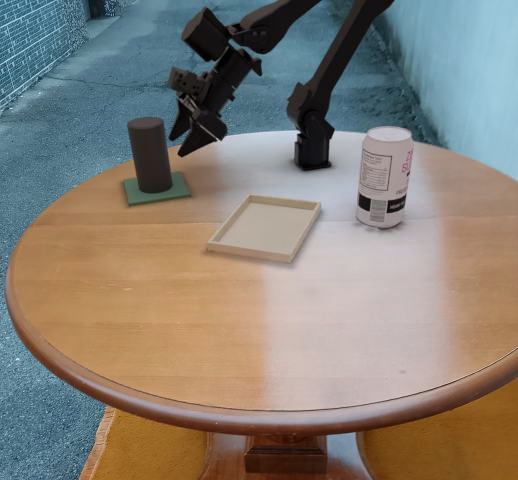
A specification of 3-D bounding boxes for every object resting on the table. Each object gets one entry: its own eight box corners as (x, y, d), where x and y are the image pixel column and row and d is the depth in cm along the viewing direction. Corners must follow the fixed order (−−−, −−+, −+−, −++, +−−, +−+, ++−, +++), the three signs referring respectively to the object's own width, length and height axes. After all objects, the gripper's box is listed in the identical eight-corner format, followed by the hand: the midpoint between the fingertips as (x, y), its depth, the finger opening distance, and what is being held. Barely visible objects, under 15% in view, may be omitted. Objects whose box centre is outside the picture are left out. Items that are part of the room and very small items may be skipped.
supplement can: (351, 210, 98) (357, 126, 88) (395, 207, 99) (407, 123, 89) (361, 231, 92) (369, 144, 82) (408, 228, 92) (422, 140, 83)
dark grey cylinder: (179, 184, 108) (171, 120, 100) (156, 196, 104) (144, 130, 96) (155, 176, 111) (145, 114, 103) (131, 188, 107) (119, 124, 99)
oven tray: (248, 202, 102) (248, 193, 101) (321, 212, 98) (321, 202, 97) (207, 252, 88) (206, 242, 87) (290, 265, 84) (290, 254, 83)
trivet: (180, 173, 114) (180, 170, 113) (191, 196, 105) (190, 193, 105) (123, 182, 111) (123, 179, 111) (129, 206, 103) (128, 203, 102)
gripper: (180, 38, 101) (133, 107, 106) (202, 60, 88) (147, 138, 93) (223, 78, 108) (177, 141, 113) (251, 104, 94) (197, 174, 99)
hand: (174, 147), depth 104 cm, fingers open, 9 cm apart
